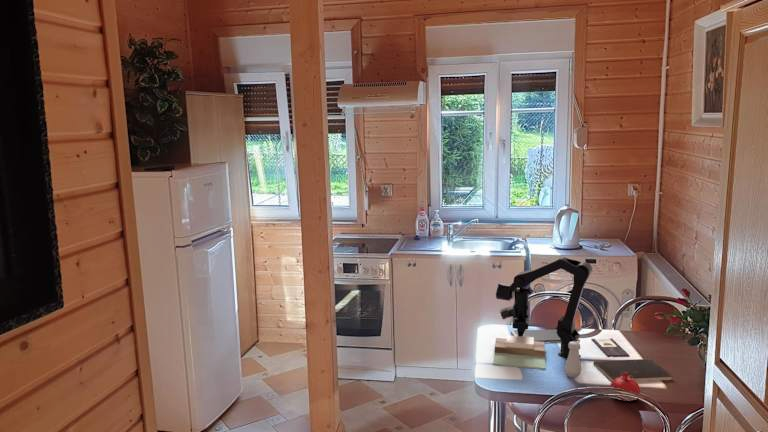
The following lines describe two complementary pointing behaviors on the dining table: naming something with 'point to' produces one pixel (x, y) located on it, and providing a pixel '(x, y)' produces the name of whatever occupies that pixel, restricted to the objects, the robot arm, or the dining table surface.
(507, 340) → the pale pink slab
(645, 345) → the dining table surface
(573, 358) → the salt shaker
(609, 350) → the chocolate bar
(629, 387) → the pomegranate
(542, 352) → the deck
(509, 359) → the mat
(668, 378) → the hardcover book
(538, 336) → the smartphone
